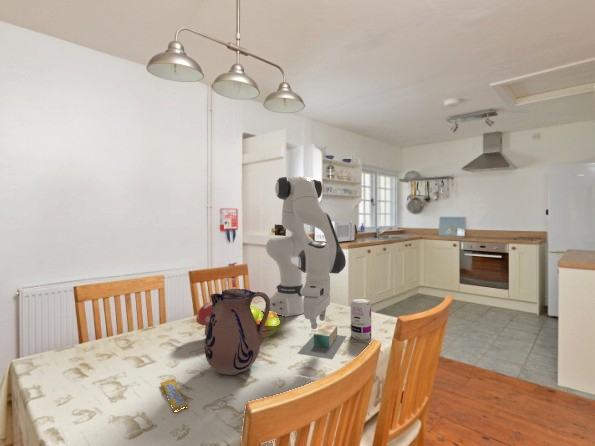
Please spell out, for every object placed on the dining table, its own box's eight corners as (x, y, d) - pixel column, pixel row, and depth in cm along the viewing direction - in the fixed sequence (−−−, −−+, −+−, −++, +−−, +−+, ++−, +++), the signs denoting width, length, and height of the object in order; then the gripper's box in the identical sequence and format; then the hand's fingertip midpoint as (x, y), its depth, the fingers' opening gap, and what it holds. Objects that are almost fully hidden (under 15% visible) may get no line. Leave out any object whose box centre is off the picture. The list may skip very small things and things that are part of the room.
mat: (297, 354, 115) (297, 353, 115) (316, 332, 136) (316, 332, 136) (332, 359, 110) (332, 359, 110) (346, 337, 131) (346, 336, 131)
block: (313, 334, 121) (323, 323, 132) (313, 345, 121) (323, 334, 133) (328, 336, 119) (337, 325, 130) (329, 348, 119) (337, 336, 130)
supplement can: (369, 333, 134) (369, 298, 134) (372, 341, 126) (372, 303, 126) (350, 333, 135) (350, 297, 135) (351, 340, 127) (351, 303, 126)
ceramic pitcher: (203, 361, 110) (201, 289, 109) (262, 351, 117) (261, 284, 117) (207, 387, 94) (206, 302, 93) (276, 373, 101) (275, 295, 100)
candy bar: (189, 411, 83) (189, 404, 83) (172, 417, 81) (172, 409, 81) (175, 382, 97) (174, 376, 97) (160, 387, 95) (160, 381, 95)
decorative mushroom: (204, 348, 121) (204, 308, 121) (191, 337, 132) (190, 301, 131) (236, 339, 130) (235, 302, 129) (221, 330, 140) (220, 296, 140)
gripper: (318, 280, 128) (318, 314, 128) (300, 292, 109) (300, 332, 109) (333, 281, 125) (334, 316, 126) (317, 293, 106) (318, 334, 107)
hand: (318, 324), depth 117 cm, fingers open, 8 cm apart
